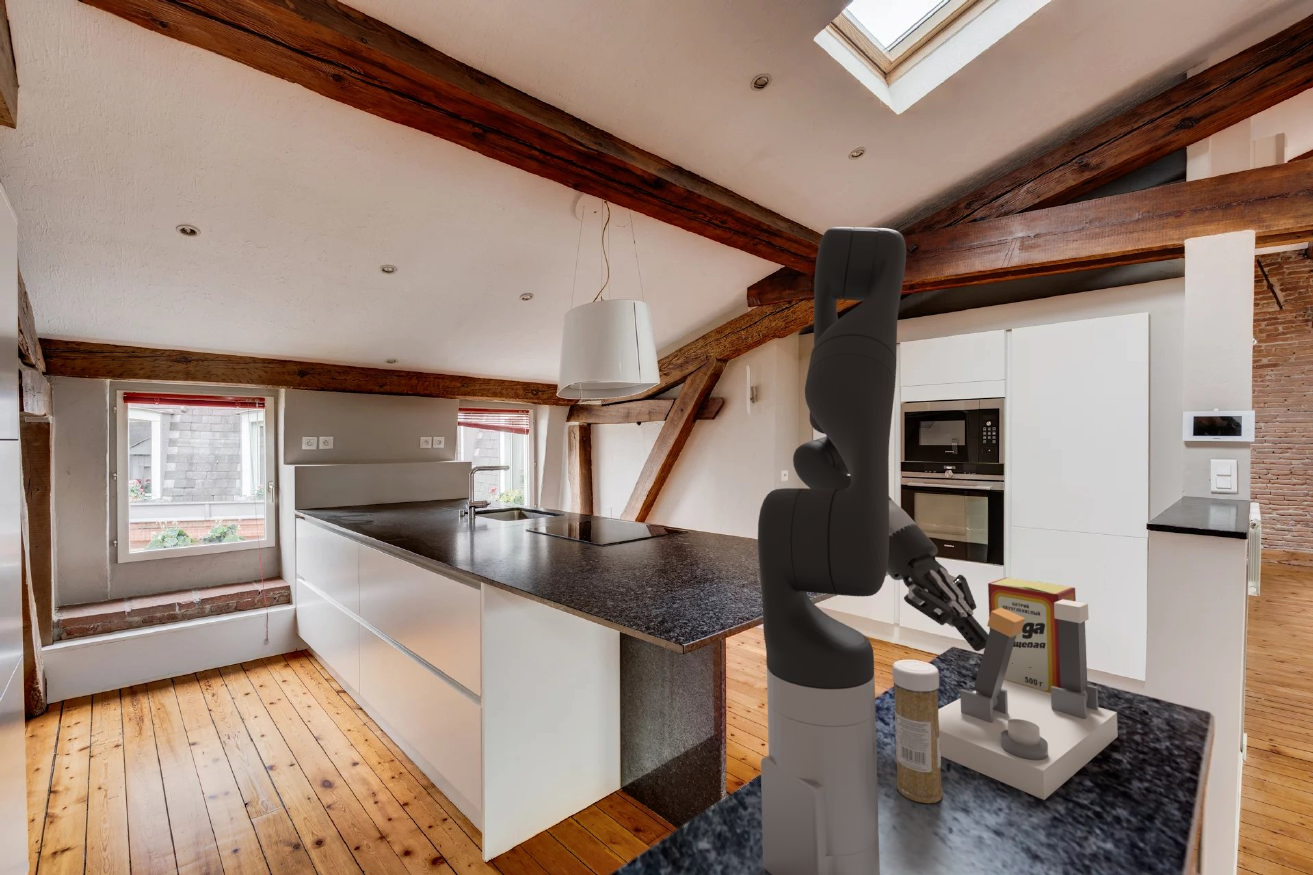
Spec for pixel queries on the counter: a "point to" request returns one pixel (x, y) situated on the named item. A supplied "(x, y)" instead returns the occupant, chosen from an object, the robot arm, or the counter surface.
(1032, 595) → the baking soda box
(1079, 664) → the lever white
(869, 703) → the robot arm
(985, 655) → the lever orange
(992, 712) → the switch panel
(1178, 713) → the counter surface
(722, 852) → the counter surface
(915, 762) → the sprinkles bottle
